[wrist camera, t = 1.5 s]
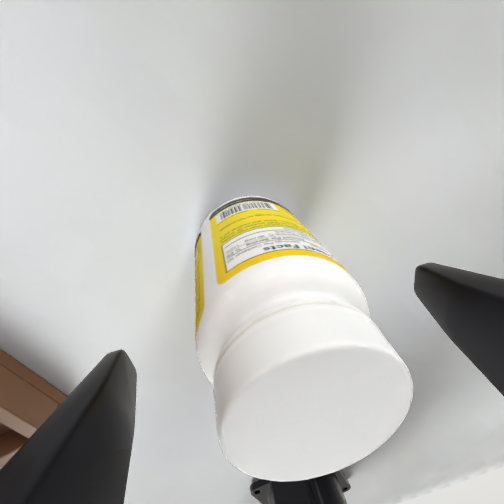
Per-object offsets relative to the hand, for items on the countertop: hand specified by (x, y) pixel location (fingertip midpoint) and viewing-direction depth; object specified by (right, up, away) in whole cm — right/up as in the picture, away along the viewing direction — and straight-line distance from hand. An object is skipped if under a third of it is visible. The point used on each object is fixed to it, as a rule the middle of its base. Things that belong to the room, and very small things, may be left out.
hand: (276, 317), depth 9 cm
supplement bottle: (-1, +2, +5) cm, 5 cm away
